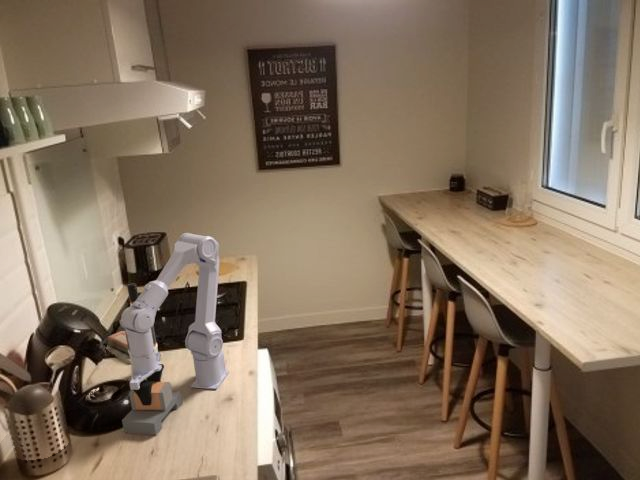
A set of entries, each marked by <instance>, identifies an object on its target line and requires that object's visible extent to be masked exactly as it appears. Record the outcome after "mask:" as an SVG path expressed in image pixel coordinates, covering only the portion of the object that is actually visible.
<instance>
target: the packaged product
mask: <svg viewBox="0 0 640 480" xmlns="http://www.w3.org/2000/svg"><path fill="white" fill-rule="evenodd" d="M106 345H107V347H106V349H107V350H108V351H109V352H108V351H107V352H108V353H110V352H111V353H112V354H111V353H110V354H111V355H113V354H114V355H115V356H114V355H113V356H114V357H116V358H118V359H120V360H121V361H123V362H125V363H127V364H130V365H131V361H130V356H129V353H128V345H127V340H126V334H125V330H120V331H117V332H115V333H113V334H111V335H109V336H107V344H106Z"/></svg>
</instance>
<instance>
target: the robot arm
mask: <svg viewBox="0 0 640 480" xmlns="http://www.w3.org/2000/svg"><path fill="white" fill-rule="evenodd" d="M219 248H220V244H219V243H218V241H217V240H216V239H215V238H214V237H213V236H209V235H207V236H205V235H200V234H193V233H190V232H185V233H184V232H183V234H181V235H180V236H179V238H178V240H177V241H176V242H175V243H174V249H173V251H172V252H173V253H172V254H171V256H170V257H169V259H168V261H167V262H166V264H165V265H164V267H163V268H162V269H161V272H160V273H159V275H158V277H157V278H156V280H155V279H154V280H152V281H148V283H147V284H145V285H144V287H143V290H142V291H141V292H140V294H138V298H137V300H136V301H135V302H134V303H133V305H132V306H128V307H127V308H125V309H124V310H123V312H121V315H120V320H119V324H120V326H121V327H122V328H123V329H124V328H125V329H126V333H127V336H128V341H129V347H130V352H131V357H132V362H133V368H134V369H133V374H132V379H130V381H129V385H128V386H129V389H130V391H131V390H133V391H134V392H135V393H136V394H137V395H138V397H139V399H140V401H141V403H142V405H151V401H152V396H151V389H152V384H153V382H162V381H161V379H162V376H163V375H162V371H163V372H164V369H165V365H164V364H162V363H161V364H159V361H160V362H161V360H162V356H161V353H160V352H158V353H155V349H154V344H153V338H152V332H151V327H152V326H154V324H155V319H156V315H157V311H158V310H159V308H160V307H161V305H162V304H163V303H164V302H165V300H166V298H167V297H168V295H169V290H168V289H169V286H170V285H171V284H172V283H173V281H174V280H175V279H176V278H177V277H178V275H179V274H180V273H181V272H182V271H183V269H184V268H185V267H186V266H187V265H190V264H196V265H197V266H198V280H197V293H196V294H197V295H196V306H195V316H194V317H195V318H194V320H195V321H194V322H192V323H191V324H189V326H188V332H187V335H186V337H185V340H184V341H185V342H184V343H185V344H184V345H185V348H186V349H187V350H189V351H190V354H191V355H192V359H193V366H194V374H195V381H193V383H192V384H191V386H190V387H191V388H195V389H204V390H205V389H207V390H208V389H209V390H217V389H218V388H219V387H220V385H221V384H222V383H223V381H224V380H225V379H226V377H227V376H228V374H229V373H230V371H229V370H227V368H226V361H225V354H224V352H223V346H224V345H223V344H224V343H223V342H224V340H223V339H222V329H221V328H220V327H219V326H218V324H217V323H216V314H217V313H216V312H217V311H216V310H217V298H218V286H219V273H220V271H219V270H220V257H219ZM125 329H124V330H125ZM161 375H162V376H161ZM145 379H147V380H145Z"/></svg>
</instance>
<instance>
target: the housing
mask: <svg viewBox="0 0 640 480" xmlns="http://www.w3.org/2000/svg"><path fill="white" fill-rule="evenodd" d="M172 391H173V390H172V385H171V382H170V381H161V382H153V384H152V389H151V396H152V401H151V405H142V403H141V401H140V399H139V397H138V395H137V394H136V393H135V392H134V391H133V390H131V389H130V390H129V392H128V395H129V399H130V400H129V401H130V405H131V410H166V409H167V407H168V405H169V404H170V402H171V401H172V399H173V396H172Z"/></svg>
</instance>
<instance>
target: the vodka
mask: <svg viewBox="0 0 640 480" xmlns="http://www.w3.org/2000/svg"><path fill="white" fill-rule="evenodd" d="M126 288H127V293H128V297H129V298H128V299H129V305H130V306H132V305H133V303H134V302H135V301H136V300H137V298H138V297H139V291H138V287H137V283H134V282H133V283H132V282H131V283H128V284H127V285H126ZM130 306H129V307H130ZM123 329H124V331H125V334H126V340H127V345H128V353H129V356H130V361H131V364H130V370H131V371H130V378H131V379H132V374H133V369H134V368H133V362H132V357H131V352H130V347H129V341H128V336H127V333H126V329H125V328H124V327H123ZM151 332H152V338H153V344H154V349H155V353H159V350H158V347H159V346H158V342H157V337H156V333H155V326H154V325H153V326H152V327H151ZM159 364H162V362H161V360H160V361H159ZM163 375H164V370H163V371H162V375H161V377H162V376H163ZM131 379H130V380H131ZM145 380H147V379H145Z"/></svg>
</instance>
